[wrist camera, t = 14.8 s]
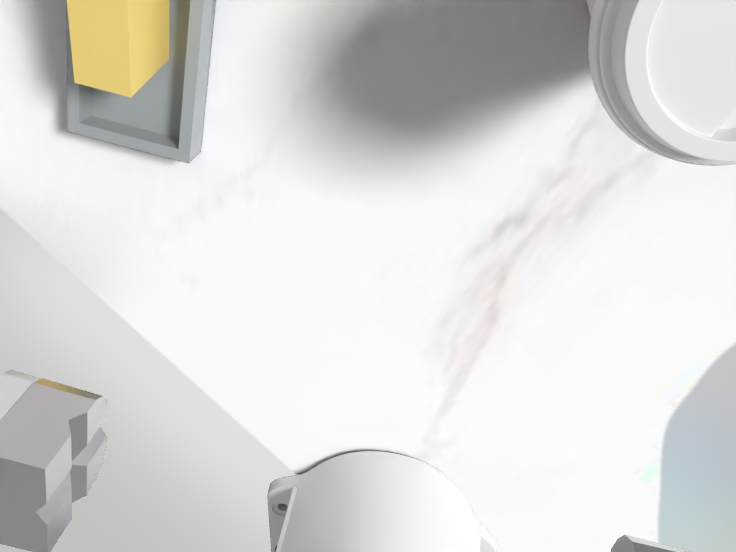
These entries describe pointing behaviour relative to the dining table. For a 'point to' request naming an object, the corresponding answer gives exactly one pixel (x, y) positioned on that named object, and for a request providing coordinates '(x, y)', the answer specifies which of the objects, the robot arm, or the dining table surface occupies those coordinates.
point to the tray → (154, 93)
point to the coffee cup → (668, 74)
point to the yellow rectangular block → (118, 42)
